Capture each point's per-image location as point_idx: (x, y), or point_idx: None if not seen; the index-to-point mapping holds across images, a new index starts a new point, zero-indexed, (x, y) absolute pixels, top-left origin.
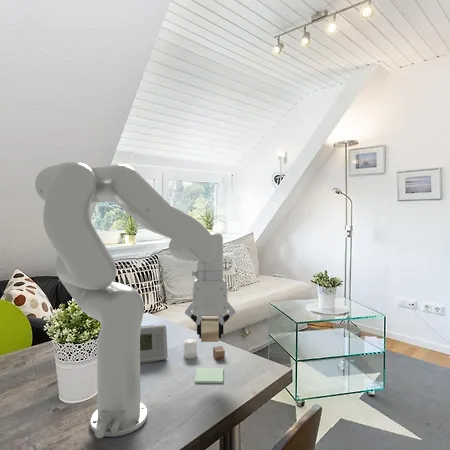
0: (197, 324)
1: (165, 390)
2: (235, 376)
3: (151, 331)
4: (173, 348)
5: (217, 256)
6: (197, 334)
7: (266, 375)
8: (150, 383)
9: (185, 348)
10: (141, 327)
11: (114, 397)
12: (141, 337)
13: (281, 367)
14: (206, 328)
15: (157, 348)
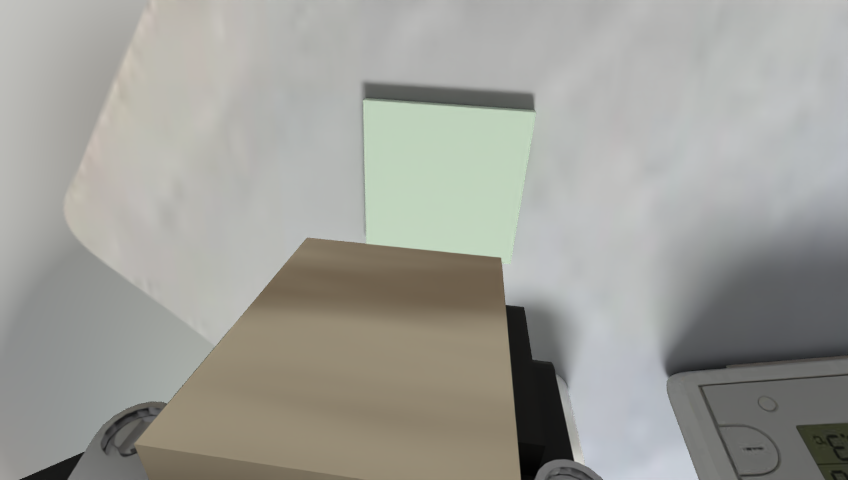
0: (573, 472)
1: (741, 23)
2: (302, 171)
3: None
4: (611, 465)
5: None
6: (544, 361)
7: (147, 169)
8: (825, 125)
9: (570, 420)
10: None
11: None
12: None
13: (92, 240)
14: (419, 361)
15: (759, 430)
